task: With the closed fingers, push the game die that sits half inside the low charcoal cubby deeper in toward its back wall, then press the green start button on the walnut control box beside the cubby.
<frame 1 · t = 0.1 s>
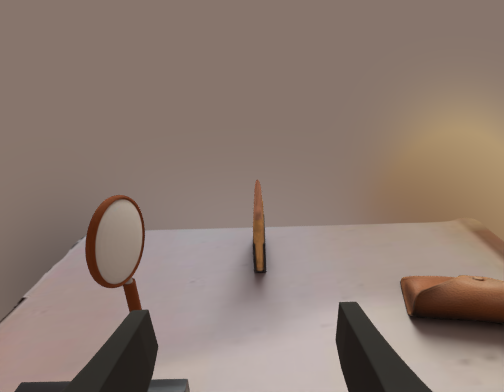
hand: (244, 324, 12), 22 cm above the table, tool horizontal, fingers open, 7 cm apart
ammunition clip: (260, 254, 56), on the table
sunglasses case: (476, 307, 42), on the table
magnifying glass: (147, 361, 37), on the table
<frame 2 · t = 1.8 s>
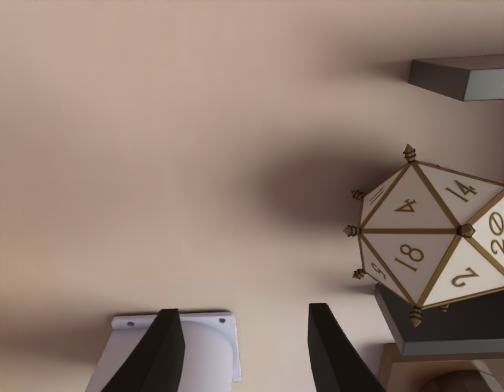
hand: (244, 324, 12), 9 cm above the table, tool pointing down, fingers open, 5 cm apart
cubby: (493, 194, 20), on the table
control box: (446, 376, 28), on the table
game die: (396, 197, 21), on the table
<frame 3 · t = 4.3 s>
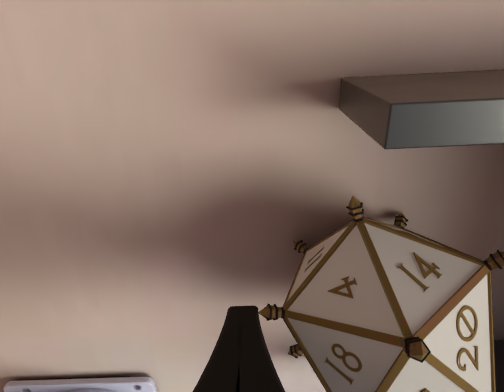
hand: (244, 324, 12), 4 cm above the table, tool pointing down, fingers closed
cubby: (460, 245, 16), on the table
game die: (350, 249, 16), on the table, touching gripper
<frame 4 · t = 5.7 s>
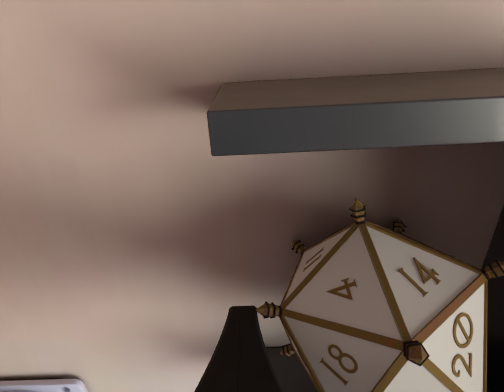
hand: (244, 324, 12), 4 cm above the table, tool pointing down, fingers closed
cubby: (368, 248, 16), on the table
game die: (347, 252, 16), on the table, touching gripper
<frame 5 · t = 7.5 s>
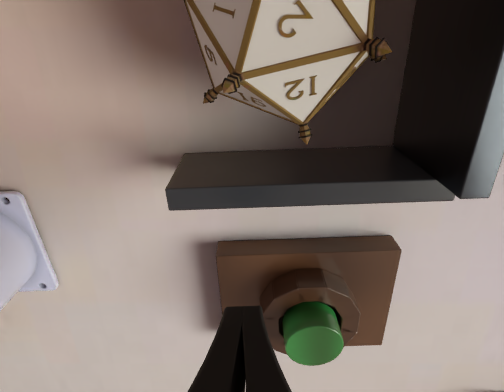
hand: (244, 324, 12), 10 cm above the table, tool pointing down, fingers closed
start button: (311, 333, 21), point 4 cm above the table, slide at 0.1 cm
cubby: (294, 15, 16), on the table
control box: (302, 287, 24), on the table
game die: (276, 24, 17), on the table
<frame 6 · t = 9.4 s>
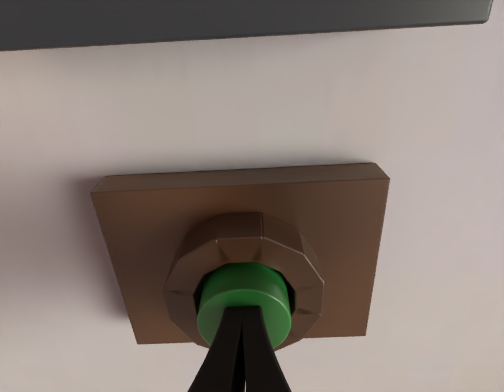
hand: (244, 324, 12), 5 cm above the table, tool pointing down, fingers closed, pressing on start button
start button: (244, 305, 13), point 4 cm above the table, slide at -0.4 cm, touching gripper
control box: (245, 251, 16), on the table
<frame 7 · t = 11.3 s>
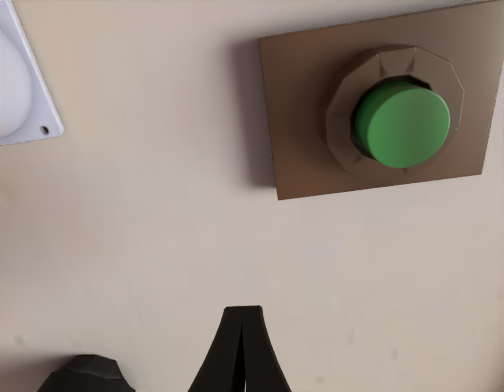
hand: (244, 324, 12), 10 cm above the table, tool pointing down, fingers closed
start button: (399, 124, 15), point 4 cm above the table, slide at 0.1 cm
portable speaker: (96, 378, 30), on the table
control box: (370, 106, 19), on the table
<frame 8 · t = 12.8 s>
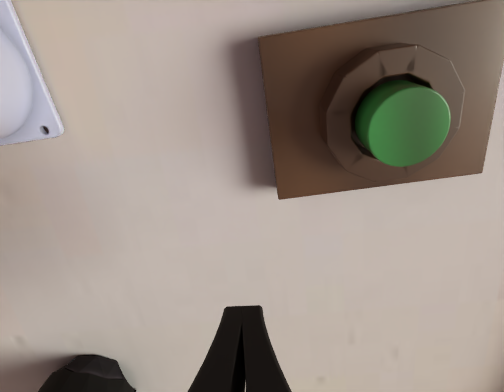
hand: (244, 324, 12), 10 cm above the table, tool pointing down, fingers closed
start button: (399, 123, 15), point 4 cm above the table, slide at 0.1 cm
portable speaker: (97, 378, 30), on the table
control box: (370, 105, 19), on the table
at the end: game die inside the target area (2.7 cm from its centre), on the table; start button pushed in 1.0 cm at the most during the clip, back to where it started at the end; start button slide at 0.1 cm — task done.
